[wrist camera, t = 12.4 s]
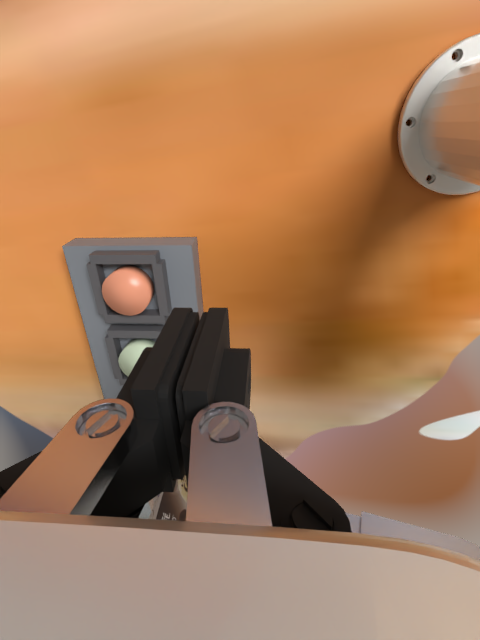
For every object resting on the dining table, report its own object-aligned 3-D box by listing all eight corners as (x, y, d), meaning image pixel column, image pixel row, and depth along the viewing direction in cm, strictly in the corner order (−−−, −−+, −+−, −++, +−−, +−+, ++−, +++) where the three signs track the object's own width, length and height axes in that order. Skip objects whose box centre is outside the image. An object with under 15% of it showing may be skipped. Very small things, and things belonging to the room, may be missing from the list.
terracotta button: (150, 265, 38) (144, 272, 36) (157, 307, 40) (152, 315, 38) (105, 265, 38) (97, 272, 36) (114, 307, 40) (107, 315, 39)
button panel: (196, 237, 39) (188, 249, 35) (212, 418, 52) (208, 442, 48) (75, 238, 41) (54, 250, 37) (120, 415, 53) (108, 438, 50)
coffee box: (153, 465, 58) (116, 573, 44) (176, 445, 56) (144, 554, 42) (197, 491, 61) (175, 601, 47) (221, 473, 58) (205, 585, 44)
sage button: (162, 337, 42) (157, 347, 40) (167, 371, 44) (163, 382, 43) (121, 337, 42) (114, 346, 41) (128, 371, 45) (122, 381, 43)
